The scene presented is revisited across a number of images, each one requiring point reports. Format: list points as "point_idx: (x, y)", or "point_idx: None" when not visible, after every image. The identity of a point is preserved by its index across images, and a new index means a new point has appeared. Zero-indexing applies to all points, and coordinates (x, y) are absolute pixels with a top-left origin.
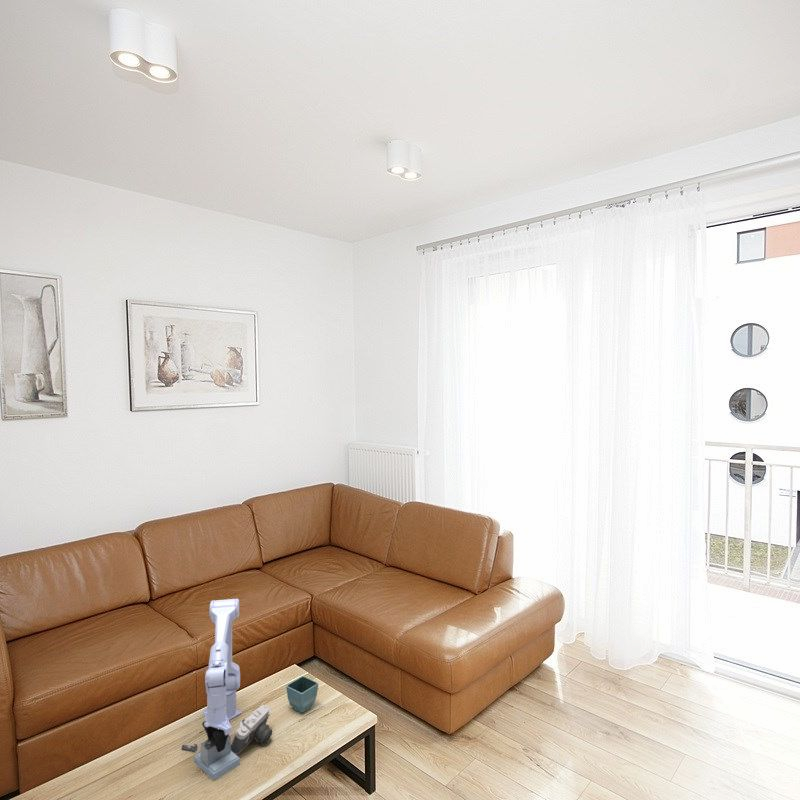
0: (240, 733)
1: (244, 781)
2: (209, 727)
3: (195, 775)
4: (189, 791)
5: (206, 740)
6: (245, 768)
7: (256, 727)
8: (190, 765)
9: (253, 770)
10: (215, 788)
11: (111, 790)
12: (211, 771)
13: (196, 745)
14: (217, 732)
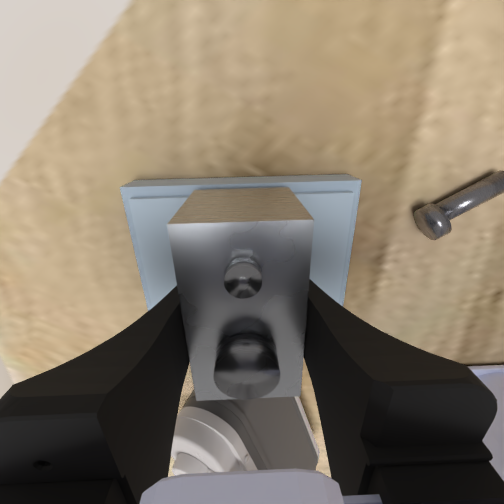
0: (179, 445)
1: (40, 277)
2: (346, 392)
3: (245, 126)
4: (139, 24)
5: (307, 276)
6: (121, 314)
7: None
8: (341, 145)
9: (88, 328)
10: (71, 158)
11: None
12: (151, 189)
13: (431, 233)
14: (45, 452)
